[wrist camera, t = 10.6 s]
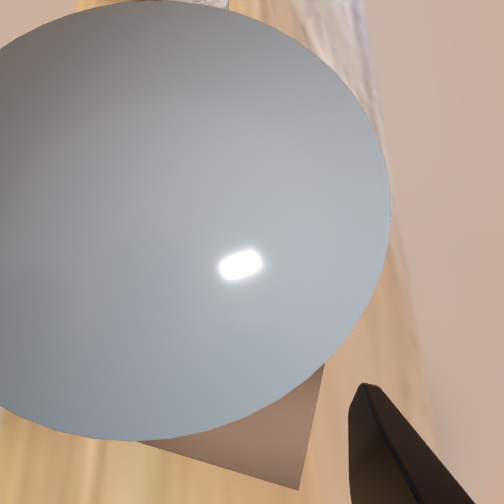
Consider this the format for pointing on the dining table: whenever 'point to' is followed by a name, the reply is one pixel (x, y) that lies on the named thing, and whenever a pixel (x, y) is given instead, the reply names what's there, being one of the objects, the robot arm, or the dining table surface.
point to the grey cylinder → (177, 219)
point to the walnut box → (259, 438)
